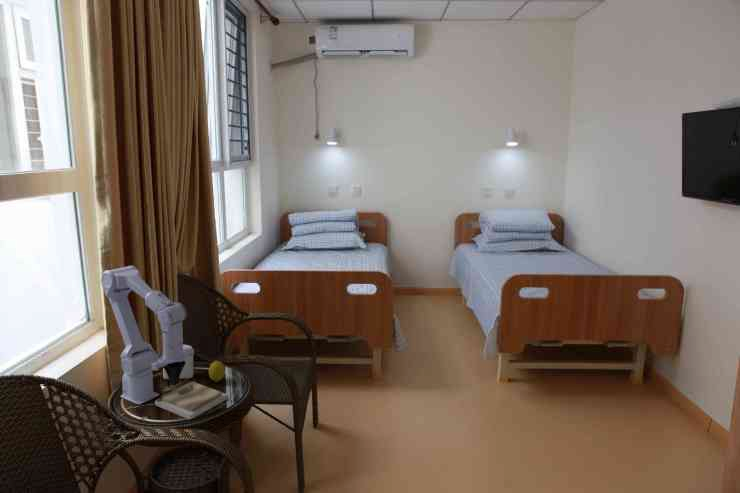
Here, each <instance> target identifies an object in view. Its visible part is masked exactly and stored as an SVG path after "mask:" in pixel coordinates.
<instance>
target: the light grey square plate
mask: <svg viewBox="0 0 740 493" xmlns="http://www.w3.org/2000/svg"><path fill="white" fill-rule="evenodd" d="M193 382H195V383H197V381H195V380H194V381H193ZM228 398H229V395H228V394H227V393H224V392H222V395H221V396H219V397H217V398H215V399H213V400H212V401H210V402H208V403H206V404H204V405H202V406H201V407H199V408H197V409H195V410H193V411H191V410H188V409H186V408H183V407H181V406H178V405H176V404H173V403H171V402H168V401H166V400H163V399H162V398H161V397H159V398H157V399H156V400H154V403H155V404H154V406H156V407H159V408H161V409H164V410H165V411H168V412H171V413H173V414H175V415H177V416H180V417H183V418H184V419H187V420H190V419H191V420H192V419H195V418H196V417H197V416H198V417H199V415H201V414H203V413H205V412H206V411H209V410H210V409H212V408H214V407H216V406H218V405H220V404H221V403H222V402H224V401H226V400H228Z"/></svg>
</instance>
